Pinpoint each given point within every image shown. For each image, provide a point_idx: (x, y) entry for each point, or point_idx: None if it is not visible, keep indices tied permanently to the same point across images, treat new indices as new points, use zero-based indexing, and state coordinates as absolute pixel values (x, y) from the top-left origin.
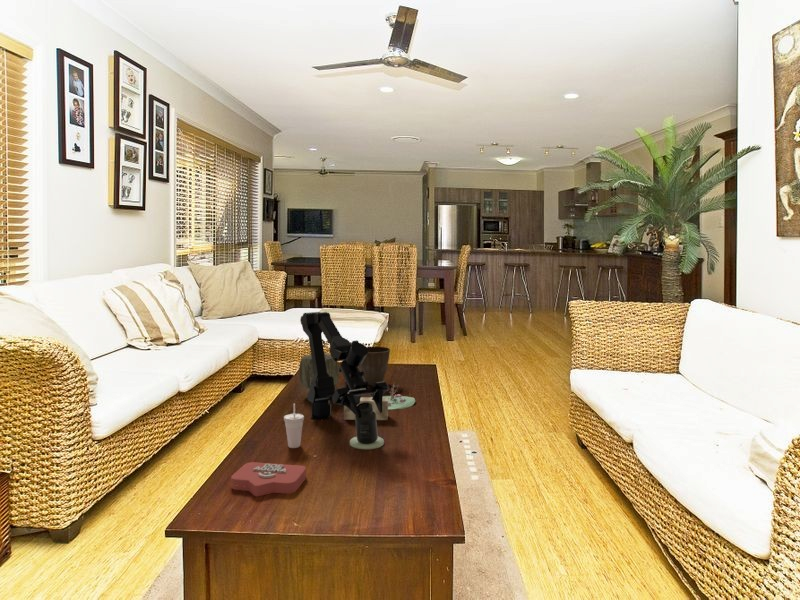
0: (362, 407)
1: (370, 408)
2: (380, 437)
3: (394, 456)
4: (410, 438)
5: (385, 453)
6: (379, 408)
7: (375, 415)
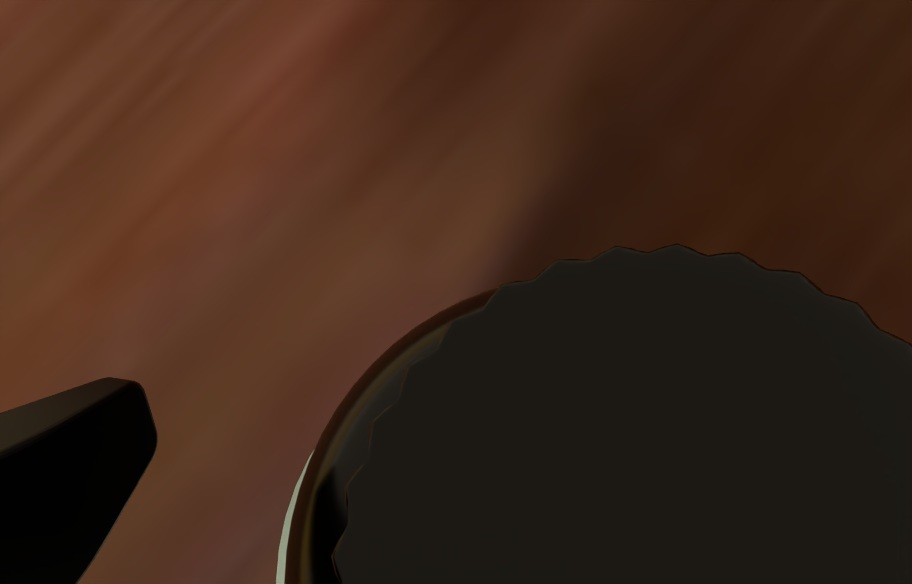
0: (884, 499)
1: (603, 260)
2: (279, 554)
3: (545, 11)
4: (2, 332)
5: (565, 137)
6: (75, 489)
7: (412, 333)
